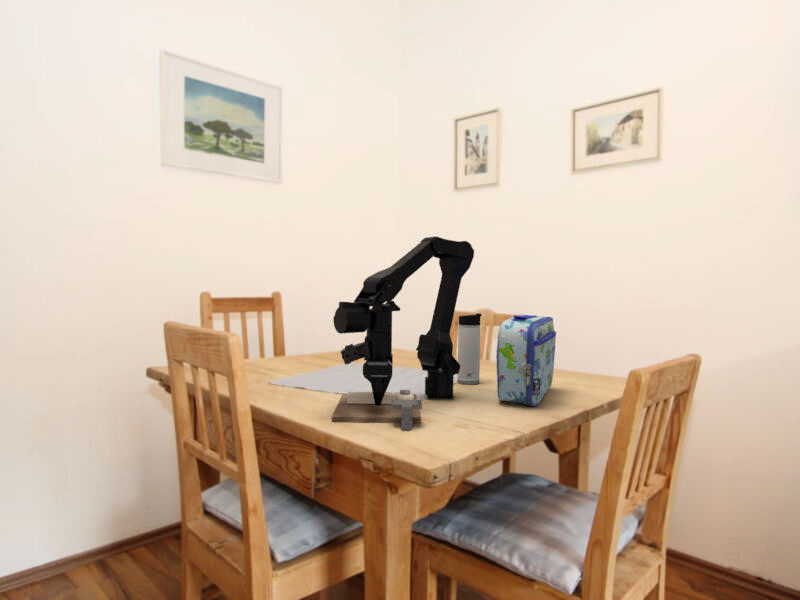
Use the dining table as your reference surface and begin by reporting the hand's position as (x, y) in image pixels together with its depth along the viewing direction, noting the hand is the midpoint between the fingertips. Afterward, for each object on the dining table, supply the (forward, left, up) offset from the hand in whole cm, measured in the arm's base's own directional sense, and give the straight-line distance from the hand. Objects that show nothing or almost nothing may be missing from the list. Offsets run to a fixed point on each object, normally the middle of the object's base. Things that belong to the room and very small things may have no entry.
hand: (378, 400), depth 111 cm
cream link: (-1, 0, 0) cm, 1 cm away
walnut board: (0, +1, -2) cm, 2 cm away
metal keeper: (-6, +13, -2) cm, 15 cm away
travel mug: (-25, -29, -2) cm, 38 cm away
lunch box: (-37, -12, -2) cm, 39 cm away
